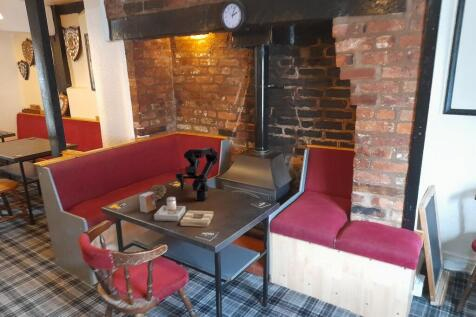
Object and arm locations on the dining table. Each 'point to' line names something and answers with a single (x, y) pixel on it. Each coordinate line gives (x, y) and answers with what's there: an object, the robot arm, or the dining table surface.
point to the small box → (147, 202)
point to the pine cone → (158, 191)
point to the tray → (163, 215)
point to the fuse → (171, 206)
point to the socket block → (204, 222)
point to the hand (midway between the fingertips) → (189, 190)
